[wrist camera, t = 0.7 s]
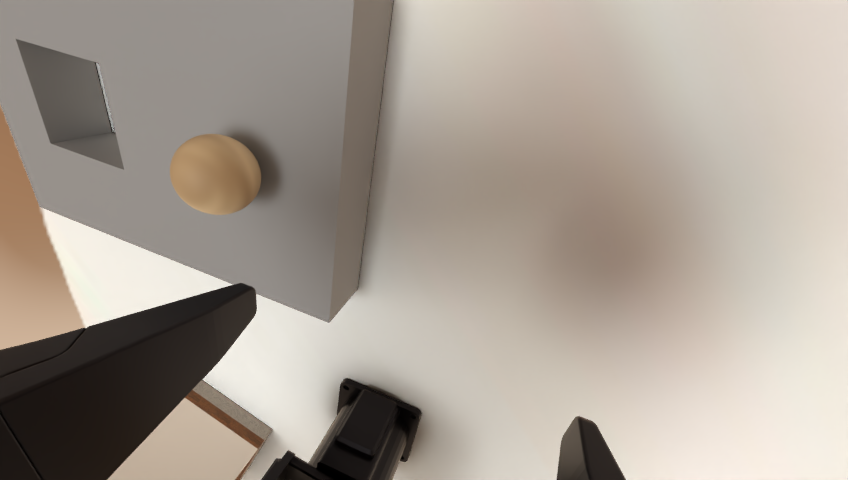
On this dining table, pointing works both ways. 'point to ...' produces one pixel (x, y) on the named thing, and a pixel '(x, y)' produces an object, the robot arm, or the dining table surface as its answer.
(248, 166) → the ball
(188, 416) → the grey striped pillar
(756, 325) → the dining table surface
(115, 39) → the grey flat block
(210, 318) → the robot arm
